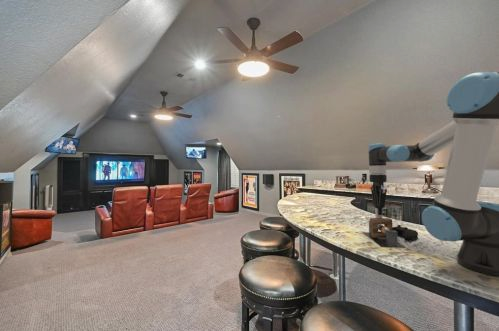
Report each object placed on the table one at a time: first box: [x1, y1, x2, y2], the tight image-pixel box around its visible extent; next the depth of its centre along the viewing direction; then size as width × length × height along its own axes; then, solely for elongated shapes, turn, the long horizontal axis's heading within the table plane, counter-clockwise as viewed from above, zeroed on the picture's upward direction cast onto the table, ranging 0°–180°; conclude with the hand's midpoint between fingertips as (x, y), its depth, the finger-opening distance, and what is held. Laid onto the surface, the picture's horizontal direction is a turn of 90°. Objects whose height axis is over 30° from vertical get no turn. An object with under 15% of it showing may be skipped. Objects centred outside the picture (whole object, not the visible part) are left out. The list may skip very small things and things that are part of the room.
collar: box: [369, 217, 394, 238], centre depth 108 cm, size 3×9×9 cm, turn 83°
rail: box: [362, 219, 406, 249], centre depth 108 cm, size 21×10×7 cm, turn 173°
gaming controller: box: [392, 224, 419, 242], centre depth 111 cm, size 14×6×10 cm
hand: (379, 220), depth 110 cm, fingers closed
